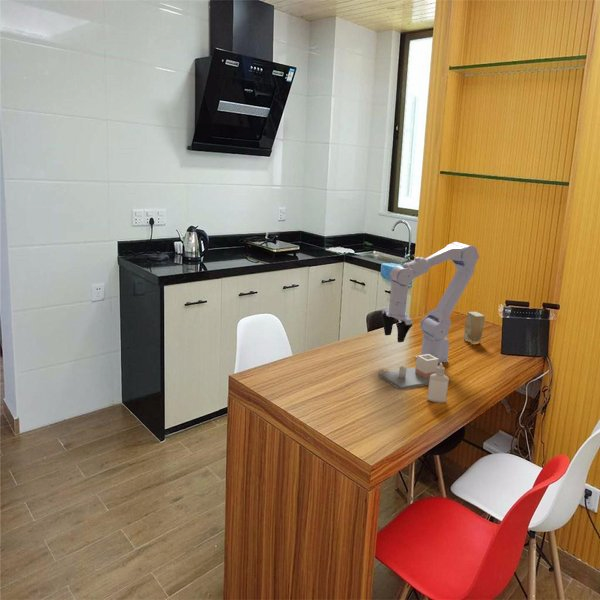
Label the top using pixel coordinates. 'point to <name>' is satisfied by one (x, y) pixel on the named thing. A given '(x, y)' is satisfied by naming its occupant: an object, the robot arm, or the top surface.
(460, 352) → the top surface
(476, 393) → the top surface
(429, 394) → the eye dropper bottle
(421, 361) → the sleeve
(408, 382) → the pin board
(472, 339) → the skincare box
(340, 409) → the top surface
